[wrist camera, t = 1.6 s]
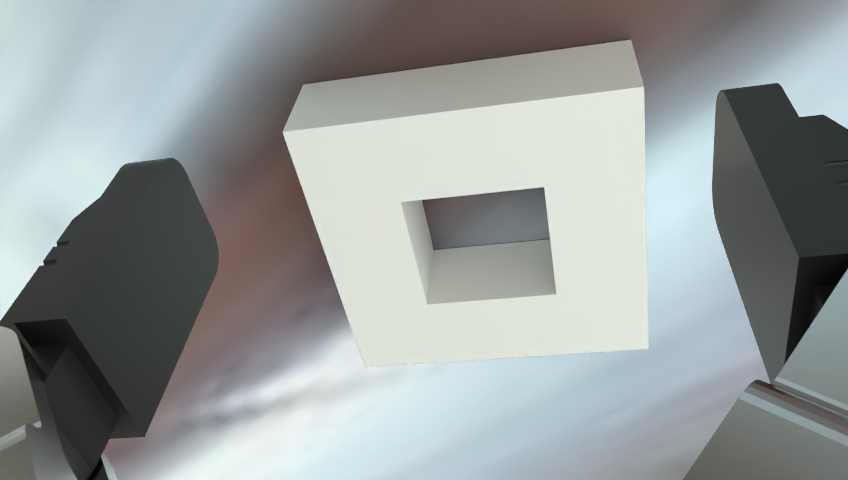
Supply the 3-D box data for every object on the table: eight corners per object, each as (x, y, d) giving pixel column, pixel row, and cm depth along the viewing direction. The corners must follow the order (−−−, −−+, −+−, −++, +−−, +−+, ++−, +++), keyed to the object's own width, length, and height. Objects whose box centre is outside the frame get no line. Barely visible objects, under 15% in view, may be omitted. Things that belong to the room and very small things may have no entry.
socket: (630, 39, 31) (643, 86, 28) (637, 291, 40) (648, 348, 37) (303, 84, 34) (282, 132, 31) (375, 311, 42) (364, 367, 39)
